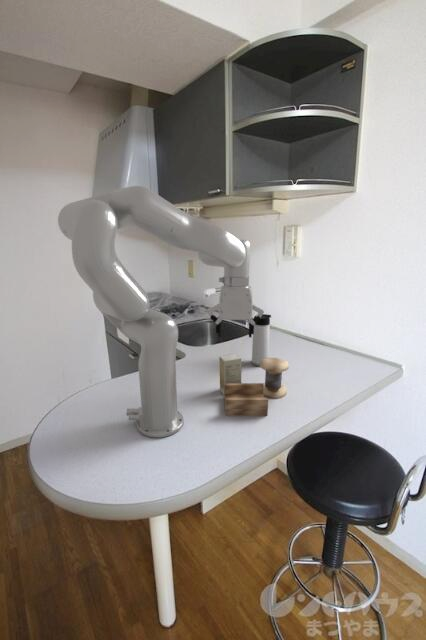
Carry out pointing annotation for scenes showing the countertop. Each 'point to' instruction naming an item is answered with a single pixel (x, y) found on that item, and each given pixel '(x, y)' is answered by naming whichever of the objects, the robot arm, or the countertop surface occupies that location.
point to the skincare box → (229, 370)
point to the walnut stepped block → (245, 399)
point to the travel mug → (261, 339)
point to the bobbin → (274, 377)
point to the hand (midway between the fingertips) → (234, 335)
